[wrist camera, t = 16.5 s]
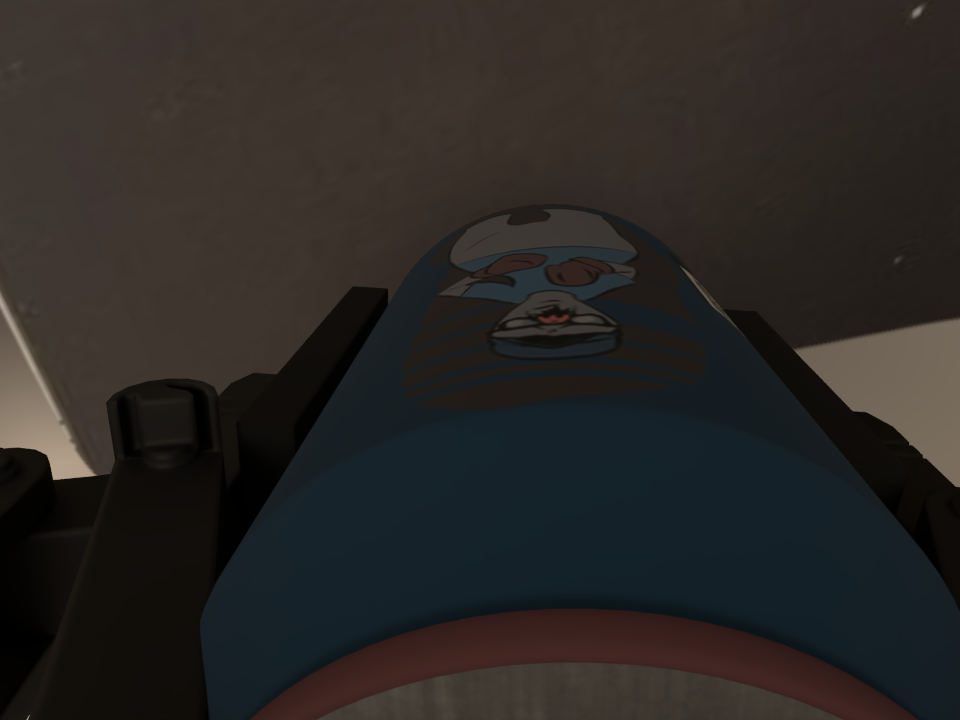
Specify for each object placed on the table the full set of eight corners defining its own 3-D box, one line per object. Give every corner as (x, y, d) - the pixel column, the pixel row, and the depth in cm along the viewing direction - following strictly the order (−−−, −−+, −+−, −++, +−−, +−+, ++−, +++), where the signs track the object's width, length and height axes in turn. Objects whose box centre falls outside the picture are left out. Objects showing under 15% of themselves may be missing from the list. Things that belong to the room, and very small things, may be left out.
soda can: (512, 536, 18) (483, 1312, 7) (326, 320, 16) (-143, 876, 5) (765, 384, 16) (1325, 1108, 5) (586, 121, 14) (798, 277, 3)
